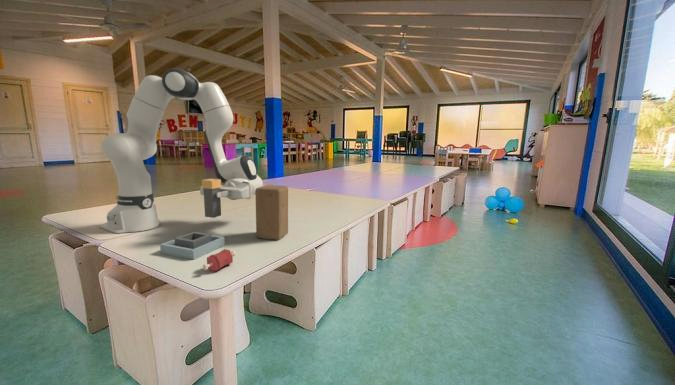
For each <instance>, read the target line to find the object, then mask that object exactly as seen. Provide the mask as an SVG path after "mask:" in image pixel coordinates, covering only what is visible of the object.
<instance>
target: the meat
mask: <svg viewBox="0 0 675 385" xmlns="http://www.w3.org/2000/svg"><path fill="white" fill-rule="evenodd" d="M235 256H236V252H235V251H234V250H232V251H231V250H230V249H226V248H225V249H222V250H221V251H219V252H218V253H214V254H211V255H209V256H207V258H206V264H205V263H204V264H203V265H202V268H203V269H202V270H203V271H207V270H208V269H209V271H211V272H217V271H219V270H221V268H223V267H224V266H228V265H231V264H232V263H233V262H234V261H233V258H234V257H235Z"/></svg>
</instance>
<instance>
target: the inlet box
mask: <svg viewBox="0 0 675 385" xmlns="http://www.w3.org/2000/svg"><path fill="white" fill-rule="evenodd" d="M225 241H226V240H225V236H219V235H213V234H209V233H203V232H197V231H192V232H189V233H186V234H183V235H181V236H178V237H175V238H174V239H172V240H169V241H167V242H162V243H160V245H159V247H160V253H161V254H163V255H168V256H174V257H179V258H183V259H187V260H194V261H195V260H196V259H199V258H200V257H203V256H205V255H207V254H209V253H211V252H213V251H215V250H218V249H220V248H222V247H224V246H225V245H226V242H225Z"/></svg>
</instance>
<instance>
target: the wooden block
mask: <svg viewBox="0 0 675 385" xmlns="http://www.w3.org/2000/svg"><path fill="white" fill-rule="evenodd" d="M255 232H256V234H255V235H256V238H258V239H265V240H267V239H268V240H276V241H278V240H281V239H282V238H284V237H285V236H286V235H288V233H289V187H288V186H287V185H273V184H266V185H263V186H262V187H259V188H256V190H255Z"/></svg>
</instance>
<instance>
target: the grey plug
mask: <svg viewBox="0 0 675 385" xmlns="http://www.w3.org/2000/svg"><path fill="white" fill-rule="evenodd" d="M221 185H222V182H221V179H217V178H206V179H202V180H201V186H202V188H203V189H204V196H203V202H204V205H203V206H204V217H205V218H211V219H214V218H218V217H220V216H222V206H221V203H222V202H221V200H222V199H221V197H215V192H220V187H221Z"/></svg>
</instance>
